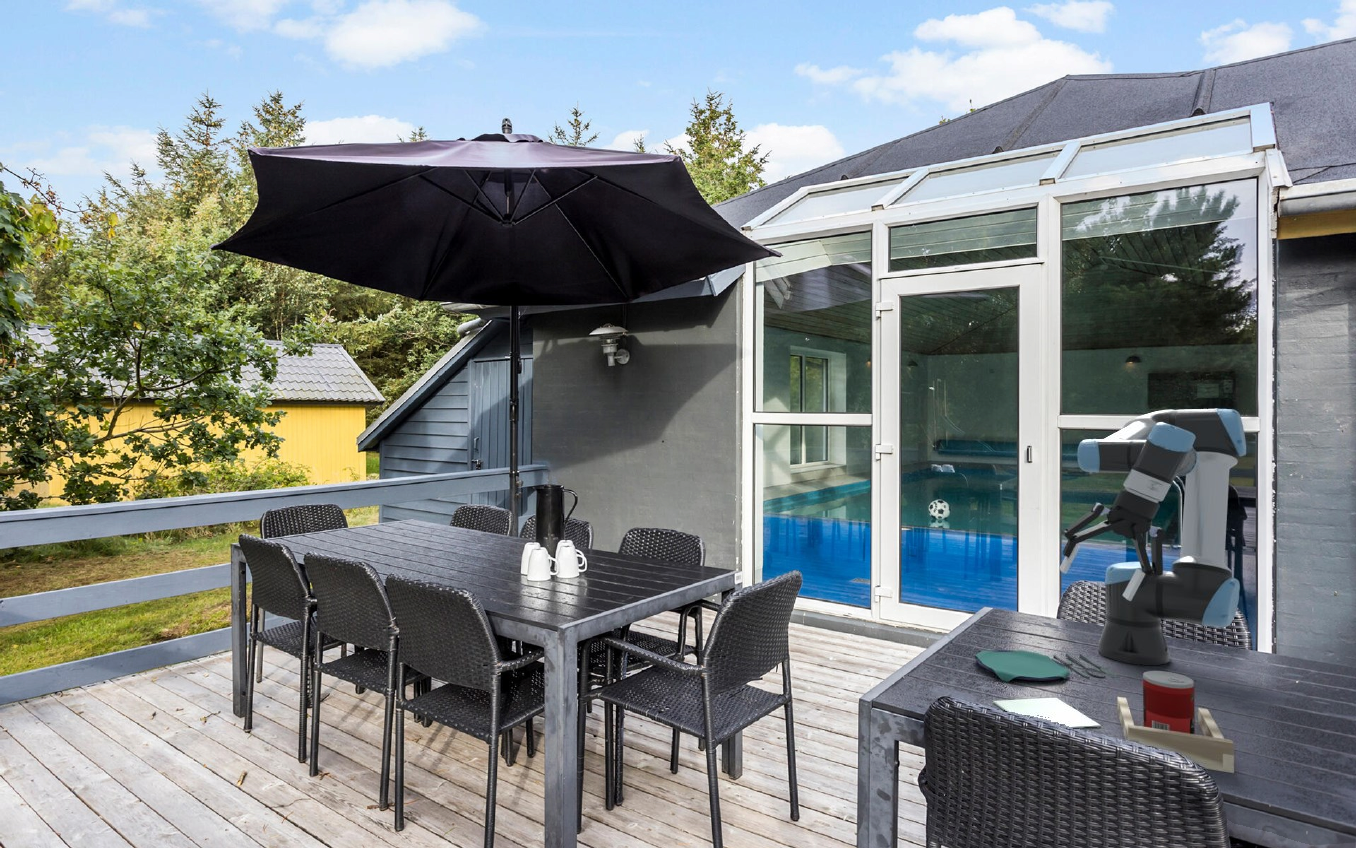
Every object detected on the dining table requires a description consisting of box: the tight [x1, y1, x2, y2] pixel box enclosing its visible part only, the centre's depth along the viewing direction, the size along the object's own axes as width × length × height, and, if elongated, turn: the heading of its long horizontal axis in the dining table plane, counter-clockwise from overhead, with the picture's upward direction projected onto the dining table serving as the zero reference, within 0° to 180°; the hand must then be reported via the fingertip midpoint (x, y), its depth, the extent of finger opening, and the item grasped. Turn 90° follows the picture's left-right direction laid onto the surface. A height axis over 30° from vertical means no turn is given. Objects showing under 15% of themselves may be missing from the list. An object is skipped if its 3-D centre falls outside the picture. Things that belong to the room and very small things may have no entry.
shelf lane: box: [1116, 696, 1235, 774], centre depth 134 cm, size 22×15×5 cm
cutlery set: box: [974, 649, 1120, 682], centre depth 172 cm, size 20×30×2 cm, turn 91°
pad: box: [993, 697, 1101, 729], centre depth 146 cm, size 14×14×1 cm
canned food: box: [1142, 670, 1196, 735], centre depth 135 cm, size 8×8×11 cm
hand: (1094, 584), depth 153 cm, fingers open, 13 cm apart
